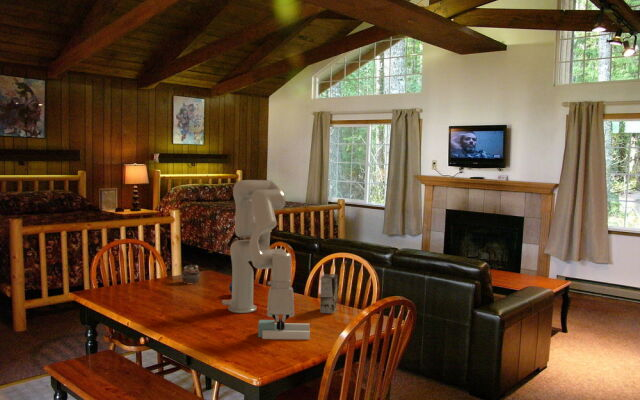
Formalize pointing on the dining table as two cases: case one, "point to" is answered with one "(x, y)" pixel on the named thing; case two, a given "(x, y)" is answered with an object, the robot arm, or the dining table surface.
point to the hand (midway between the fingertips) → (280, 330)
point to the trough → (288, 332)
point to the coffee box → (328, 293)
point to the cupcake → (190, 274)
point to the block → (265, 326)
